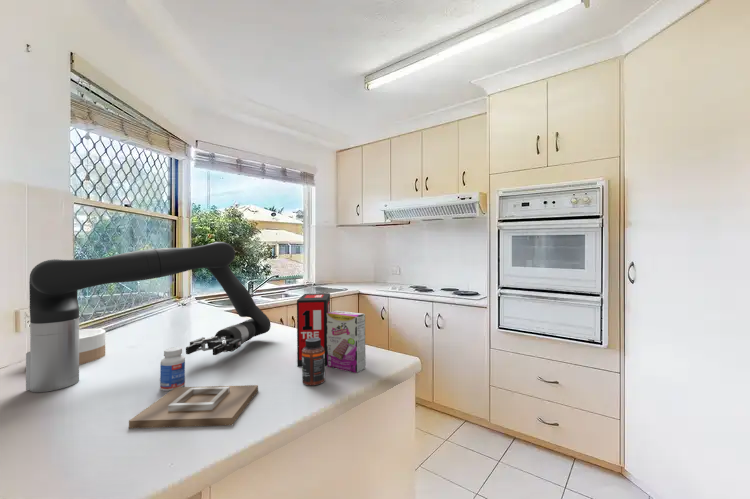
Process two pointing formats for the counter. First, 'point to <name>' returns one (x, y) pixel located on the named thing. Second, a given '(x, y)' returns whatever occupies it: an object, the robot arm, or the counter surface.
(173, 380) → the pill bottle
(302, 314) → the cleaning product box
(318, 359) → the supplement bottle
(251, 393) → the walnut board
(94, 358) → the bowl
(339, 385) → the counter surface
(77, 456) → the counter surface
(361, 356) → the candy bar box
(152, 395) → the counter surface
